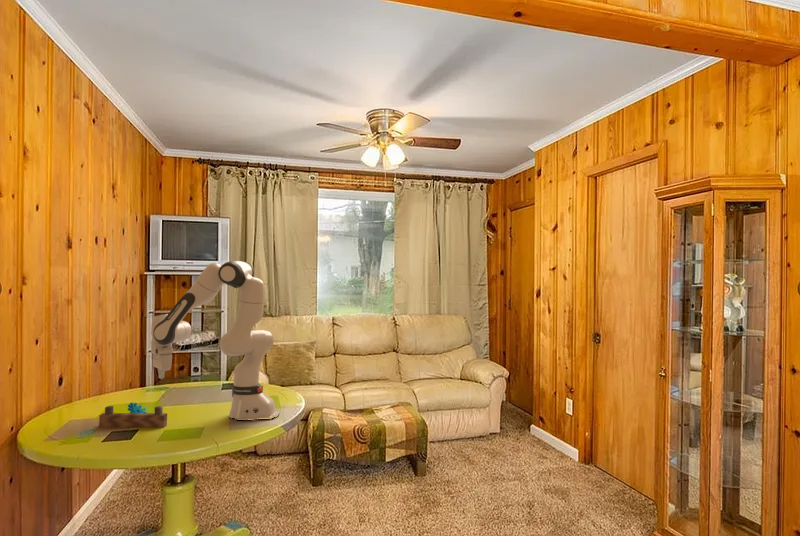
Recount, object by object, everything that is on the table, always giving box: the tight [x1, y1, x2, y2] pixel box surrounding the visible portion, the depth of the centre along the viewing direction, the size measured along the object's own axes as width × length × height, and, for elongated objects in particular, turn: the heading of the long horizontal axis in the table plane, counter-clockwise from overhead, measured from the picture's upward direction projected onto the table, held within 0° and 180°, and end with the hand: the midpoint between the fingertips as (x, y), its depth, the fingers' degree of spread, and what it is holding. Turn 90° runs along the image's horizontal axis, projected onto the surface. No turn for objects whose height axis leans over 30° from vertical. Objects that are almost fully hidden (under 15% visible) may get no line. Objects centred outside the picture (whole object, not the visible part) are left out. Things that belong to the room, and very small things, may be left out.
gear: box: [127, 402, 148, 413], centre depth 203 cm, size 11×6×10 cm
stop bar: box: [98, 405, 168, 428], centre depth 194 cm, size 26×3×8 cm, turn 94°
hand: (161, 378), depth 216 cm, fingers closed
